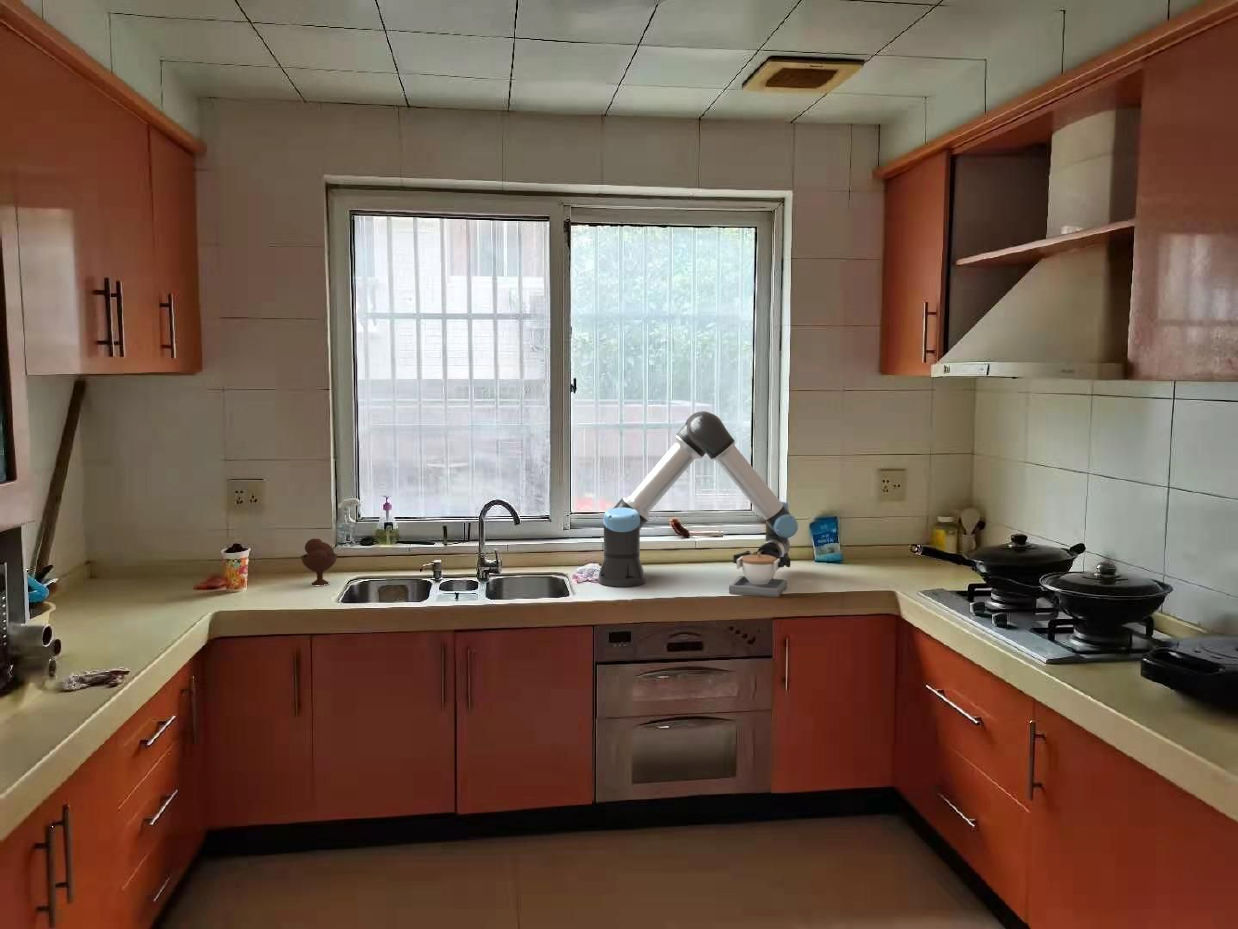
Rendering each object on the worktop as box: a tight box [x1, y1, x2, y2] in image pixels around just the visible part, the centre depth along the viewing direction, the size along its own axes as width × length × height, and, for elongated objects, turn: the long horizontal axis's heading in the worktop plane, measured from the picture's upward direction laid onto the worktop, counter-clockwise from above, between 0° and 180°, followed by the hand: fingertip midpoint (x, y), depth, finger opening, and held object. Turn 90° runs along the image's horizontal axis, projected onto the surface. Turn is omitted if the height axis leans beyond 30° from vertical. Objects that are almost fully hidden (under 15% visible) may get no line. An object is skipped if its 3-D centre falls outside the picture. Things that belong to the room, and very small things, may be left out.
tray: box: [728, 575, 788, 599], centre depth 277 cm, size 15×15×2 cm
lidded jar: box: [741, 551, 777, 584], centre depth 276 cm, size 11×11×9 cm
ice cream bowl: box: [300, 538, 338, 586], centre depth 285 cm, size 11×11×15 cm
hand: (756, 565), depth 272 cm, fingers closed on lidded jar, 11 cm apart
